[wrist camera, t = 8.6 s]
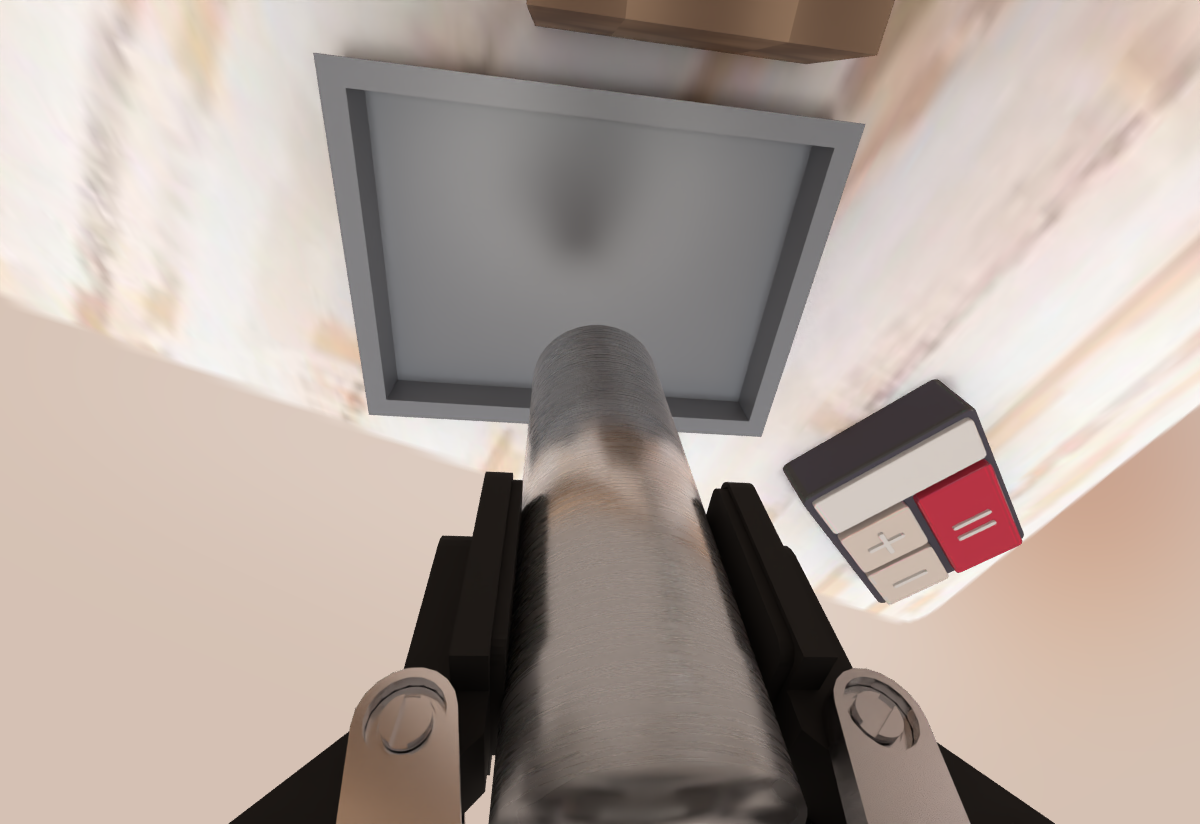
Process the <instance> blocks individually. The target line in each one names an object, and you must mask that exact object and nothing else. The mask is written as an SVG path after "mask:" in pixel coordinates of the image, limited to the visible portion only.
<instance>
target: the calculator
mask: <svg viewBox="0 0 1200 824" xmlns="http://www.w3.org/2000/svg"><path fill="white" fill-rule="evenodd" d="M783 471H784V473H785V474H786V476H787V478H788V480H789V481H790V483H791V485H792V486H793V488H794V490H795V491H796V493H797V495H798V496H799V498H800V500H801V501H802V503H803V504H804V506H805V507H806V509H807V510H808V511H809V512H810V514H811V515H812V516H813V518H814V519H815V520H816V522H817V523H818V524H819V525H820V527H821V528H822V529H823V531H824V532H825V533H826V534H827V536H828V537H829V538H830V540H831V541H832V542H833V544H834V545H835V546H836V547H837V549H838V550H839V551H840V553H841V554H842V555H843V557H844V558H845V559H846V560H847V562H848V563H849V564H850V566H851V567H852V568H853V570H854V571H855V572H856V573H857V575H858V576H859V577H860V579H861V580H862V581H863V582H864V584H865V585H866V586H867V588H868V589H869V590H870V592H871V593H872V594H873V595H874V597H875V598H876V599H877V601H878V602H880V603H884V602H886V603H887V604H893V603H895V602H898V601H900V600H902V599H904V598H906V597H908V596H911V595H913V594H915V593H917V592H919V591H921V590H924V589H926V588H928V587H930V586H932V585H934V584H937V583H939V582H941V581H943V580H945V579H947V578H948V574H947V573H950V572H952V571H954V570H955V571H956V572H957V573H960V572H963V571H965V570H967V569H969V568H971V567H973V566H976V565H978V564H980V563H982V562H984V561H986V560H989V559H991V558H993V557H995V556H997V555H999V554H1002V553H1004V552H1006V551H1008V550H1010V549H1012V548H1015V547H1017V546H1019V545H1020V544H1022V538H1023V536H1024V533H1023V531H1022V528H1021V525H1020V523H1019V520H1018V518H1017V515H1016V513H1015V510H1014V507H1013V505H1012V502H1011V500H1010V497H1009V495H1008V492H1007V489H1006V487H1005V484H1004V482H1003V479H1002V477H1001V474H1000V471H999V469H998V466H997V464H996V461H995V459H994V456H993V454H992V451H991V448H990V446H989V443H988V441H987V438H986V436H985V433H984V430H983V428H982V425H981V423H980V420H979V418H978V415H977V412H976V410H975V409H974V408H973V407H972V406H970V405H969V404H968V403H967V402H965V401H964V400H963V399H962V398H960V397H959V396H958V395H957V394H955V393H954V392H953V391H952V390H950V389H949V388H948V387H947V386H945V385H944V384H943V383H942V382H940V381H939V380H936V379H935V380H931V381H929V382H927V383H926V384H924V385H922V386H920V387H919V388H917V389H915V390H914V391H912V392H910V393H908V394H907V395H905V396H903V397H901V398H900V399H898V400H896V401H895V402H893V403H891V404H889V405H888V406H886V407H884V408H882V409H881V410H879V411H877V412H876V413H874V414H872V415H870V416H869V417H867V418H865V419H863V420H862V421H860V422H858V423H856V424H855V425H853V426H851V427H850V428H848V429H846V430H844V431H843V432H841V433H839V434H837V435H836V436H834V437H832V438H831V439H829V440H827V441H825V442H824V443H822V444H820V445H818V446H817V447H815V448H813V449H812V450H810V451H808V452H806V453H805V454H803V455H801V456H799V457H798V458H796V459H794V460H792V461H791V462H789V463H787V464H786V465H785V466H784V467H783Z"/></svg>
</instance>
